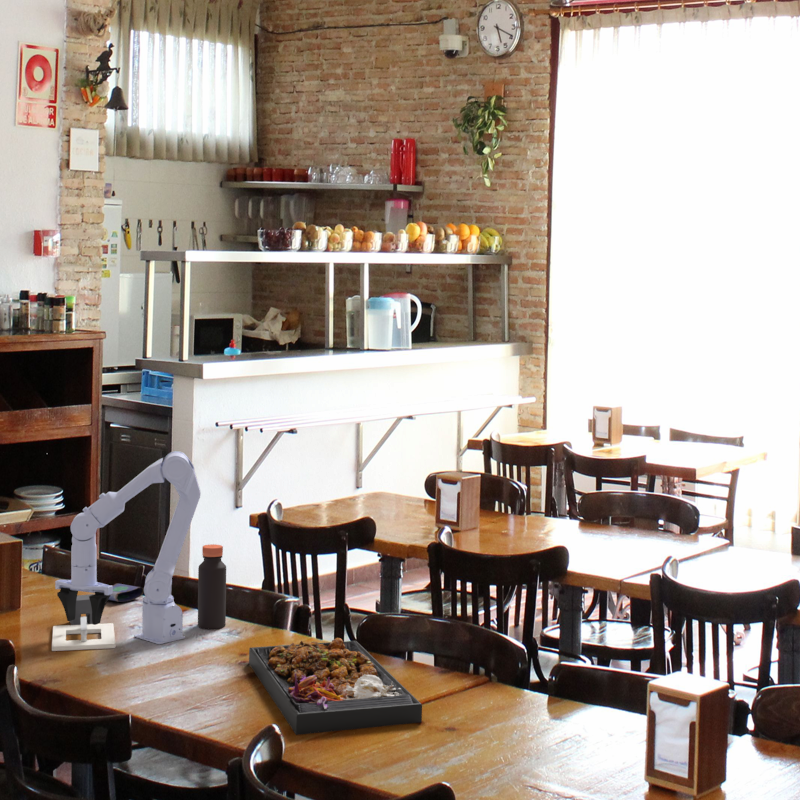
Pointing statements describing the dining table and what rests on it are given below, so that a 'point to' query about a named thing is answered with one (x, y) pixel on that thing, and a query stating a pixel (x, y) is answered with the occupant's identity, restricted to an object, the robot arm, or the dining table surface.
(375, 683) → the food platter
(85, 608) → the notched grey block
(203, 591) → the bottle
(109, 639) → the cream frame with handle
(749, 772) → the dining table surface
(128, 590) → the blue flat box
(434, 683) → the dining table surface
